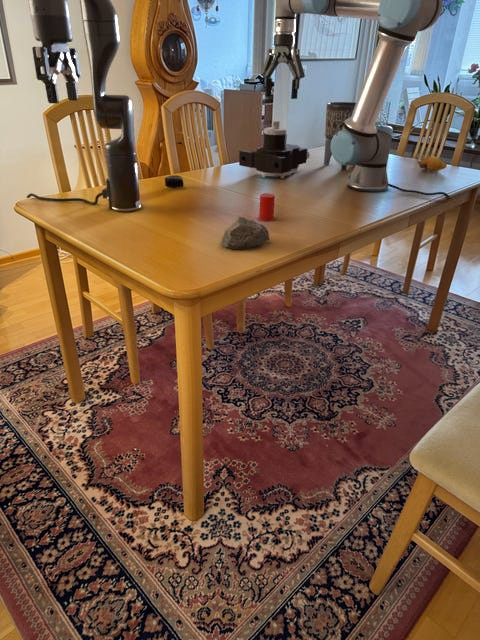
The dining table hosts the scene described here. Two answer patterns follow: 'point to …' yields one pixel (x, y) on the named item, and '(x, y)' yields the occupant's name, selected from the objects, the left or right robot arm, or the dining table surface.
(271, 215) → the canister
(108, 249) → the dining table surface
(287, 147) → the mechanical component
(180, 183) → the tape measure
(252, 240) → the rock
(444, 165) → the toy
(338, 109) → the planter
